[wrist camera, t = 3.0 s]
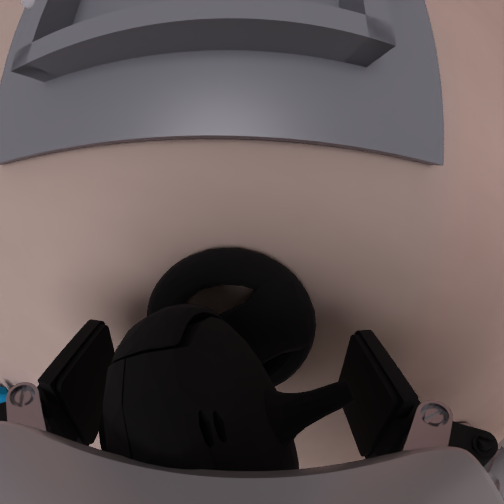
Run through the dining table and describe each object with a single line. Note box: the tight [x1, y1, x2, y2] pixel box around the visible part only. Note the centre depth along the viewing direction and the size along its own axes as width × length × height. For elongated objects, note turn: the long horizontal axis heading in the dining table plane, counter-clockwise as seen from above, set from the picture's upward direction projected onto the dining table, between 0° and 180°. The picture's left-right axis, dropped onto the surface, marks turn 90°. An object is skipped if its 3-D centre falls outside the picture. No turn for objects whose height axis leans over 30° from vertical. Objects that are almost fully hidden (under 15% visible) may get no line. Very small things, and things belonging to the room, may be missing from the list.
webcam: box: [99, 248, 355, 471], centre depth 8 cm, size 8×8×10 cm
